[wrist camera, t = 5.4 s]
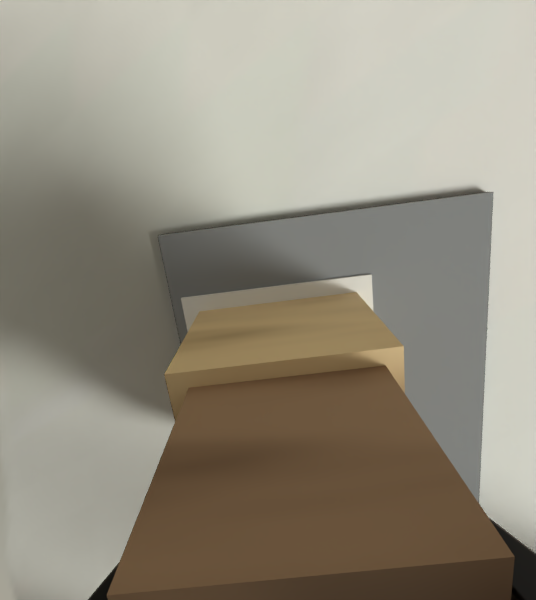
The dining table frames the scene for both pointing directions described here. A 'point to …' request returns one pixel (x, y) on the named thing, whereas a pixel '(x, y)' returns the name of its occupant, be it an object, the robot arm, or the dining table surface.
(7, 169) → the dining table surface
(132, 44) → the dining table surface
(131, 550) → the walnut cube
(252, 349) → the oak base block
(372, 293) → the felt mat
